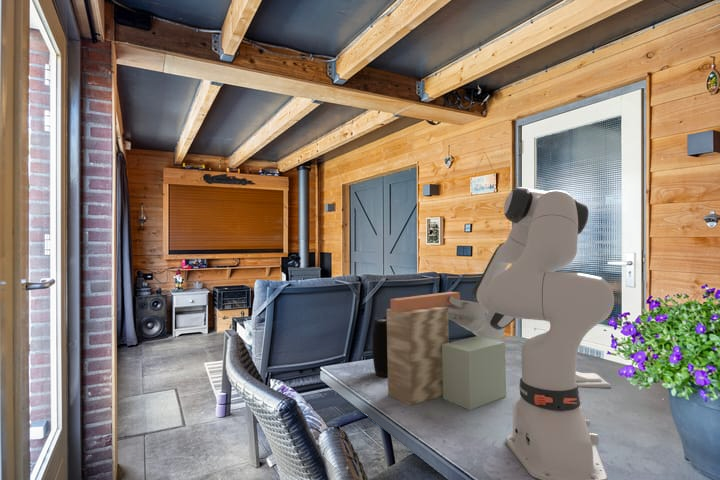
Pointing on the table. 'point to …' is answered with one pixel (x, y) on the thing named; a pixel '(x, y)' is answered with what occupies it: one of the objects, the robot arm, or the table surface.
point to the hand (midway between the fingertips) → (443, 297)
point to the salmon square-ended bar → (422, 301)
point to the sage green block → (473, 371)
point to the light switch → (590, 380)
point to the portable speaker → (380, 346)
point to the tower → (416, 353)
